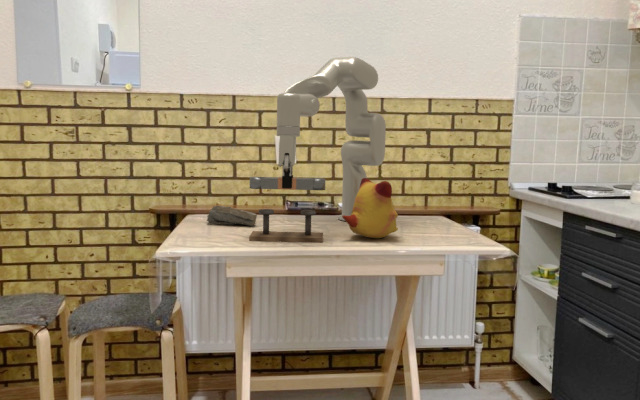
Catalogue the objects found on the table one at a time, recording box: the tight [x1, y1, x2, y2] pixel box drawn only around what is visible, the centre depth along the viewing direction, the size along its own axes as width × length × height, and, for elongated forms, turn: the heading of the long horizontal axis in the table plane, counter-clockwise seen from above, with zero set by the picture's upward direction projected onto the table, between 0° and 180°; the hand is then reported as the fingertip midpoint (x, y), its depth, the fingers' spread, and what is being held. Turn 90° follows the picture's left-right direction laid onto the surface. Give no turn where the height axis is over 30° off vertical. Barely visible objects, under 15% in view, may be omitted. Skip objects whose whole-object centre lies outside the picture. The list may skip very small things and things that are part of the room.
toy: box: [342, 177, 399, 239], centre depth 194 cm, size 20×21×20 cm
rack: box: [248, 208, 324, 243], centre depth 191 cm, size 24×9×10 cm, turn 89°
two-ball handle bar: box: [249, 176, 326, 191], centre depth 190 cm, size 25×5×4 cm, turn 89°
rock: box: [206, 205, 258, 227], centre depth 215 cm, size 11×18×10 cm, turn 84°
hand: (287, 186), depth 190 cm, fingers closed on two-ball handle bar, 4 cm apart
